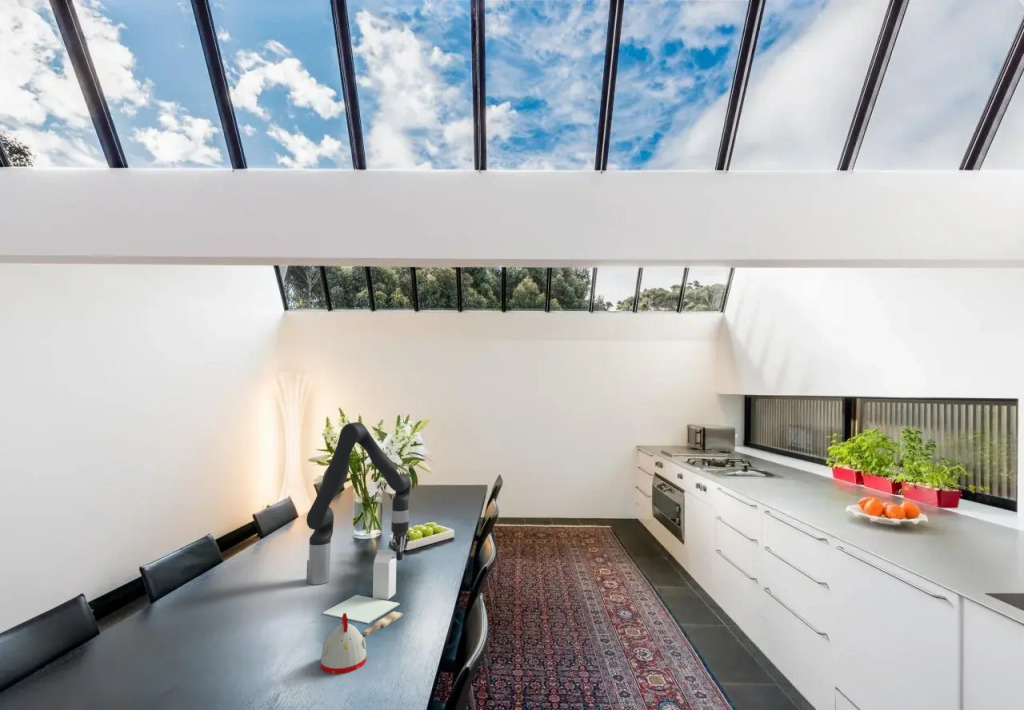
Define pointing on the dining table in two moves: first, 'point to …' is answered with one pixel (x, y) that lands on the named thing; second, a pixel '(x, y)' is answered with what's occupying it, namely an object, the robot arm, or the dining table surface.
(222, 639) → the dining table surface
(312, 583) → the robot arm
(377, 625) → the beech turner
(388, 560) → the milk carton
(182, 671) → the dining table surface
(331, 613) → the mat
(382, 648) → the dining table surface
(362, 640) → the kitchen timer
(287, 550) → the dining table surface
